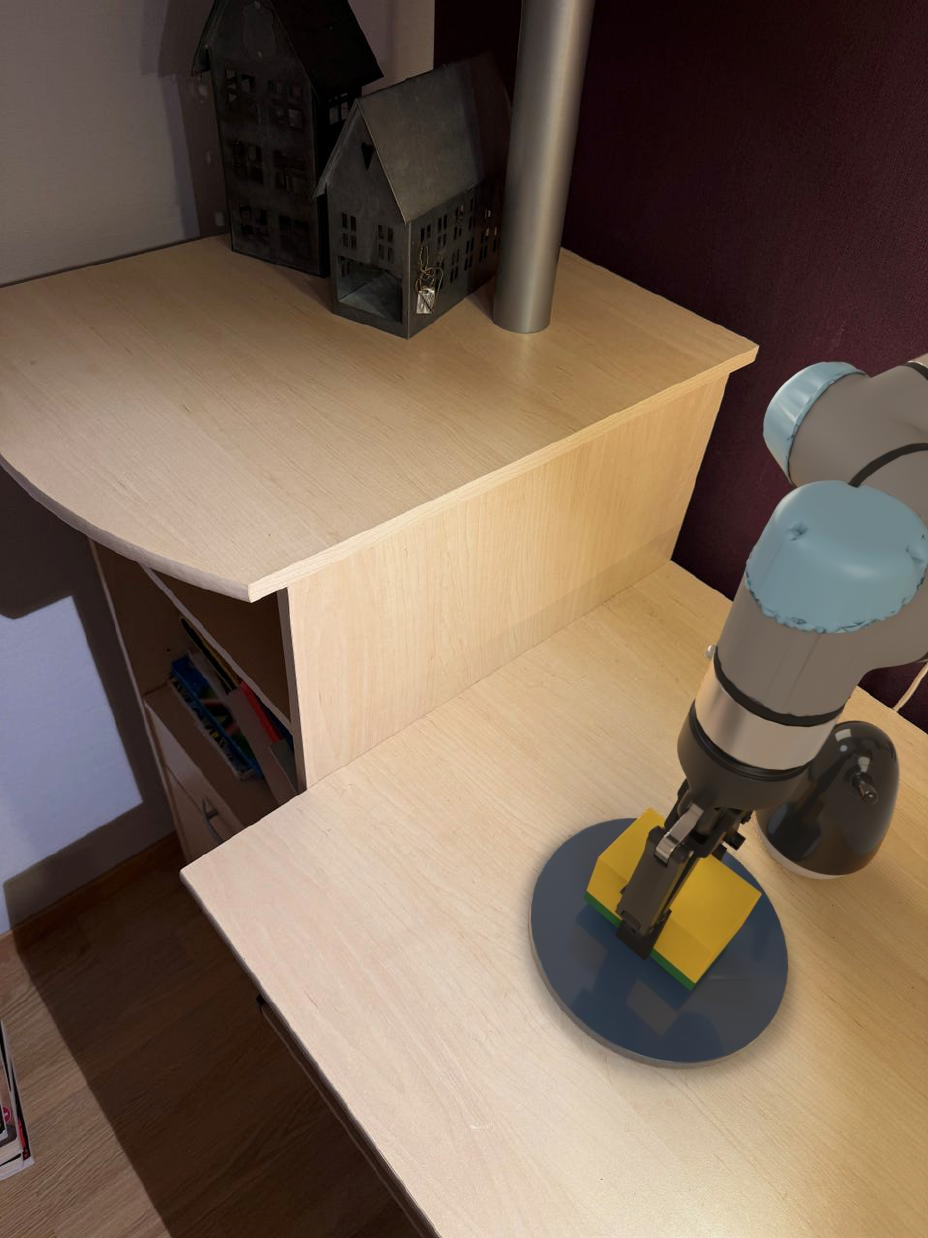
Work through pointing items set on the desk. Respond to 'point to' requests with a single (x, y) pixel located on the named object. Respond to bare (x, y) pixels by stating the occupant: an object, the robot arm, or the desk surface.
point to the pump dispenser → (836, 805)
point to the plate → (650, 969)
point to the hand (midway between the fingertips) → (660, 913)
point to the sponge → (677, 903)
